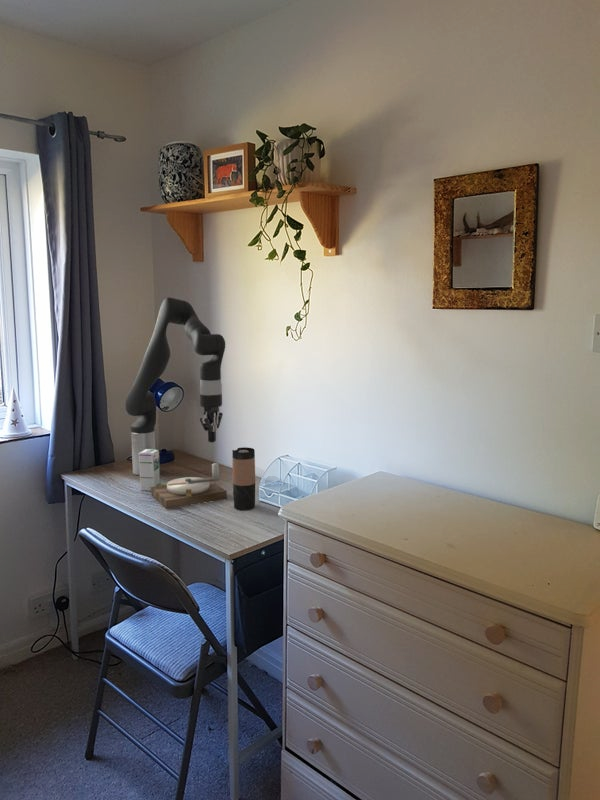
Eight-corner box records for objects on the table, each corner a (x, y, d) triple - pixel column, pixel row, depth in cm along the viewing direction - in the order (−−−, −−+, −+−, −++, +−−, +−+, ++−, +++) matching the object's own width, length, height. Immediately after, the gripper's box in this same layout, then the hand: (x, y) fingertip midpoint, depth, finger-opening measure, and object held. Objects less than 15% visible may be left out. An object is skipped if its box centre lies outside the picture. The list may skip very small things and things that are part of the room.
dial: (214, 479, 240) (213, 458, 238) (224, 490, 226) (223, 468, 224) (163, 484, 233) (163, 463, 232) (170, 496, 219) (169, 474, 218)
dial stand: (151, 494, 232) (150, 480, 231) (208, 486, 242) (208, 472, 241) (166, 509, 216) (165, 493, 215) (226, 499, 227) (226, 484, 226)
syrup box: (154, 491, 236) (153, 453, 234) (139, 490, 238) (138, 452, 235) (161, 486, 242) (159, 449, 240) (146, 485, 243) (144, 448, 241)
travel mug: (256, 510, 215) (255, 452, 212) (233, 511, 214) (232, 453, 211) (254, 502, 222) (253, 446, 219) (232, 504, 221) (231, 447, 218)
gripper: (211, 395, 213) (213, 446, 215) (229, 390, 225) (230, 438, 228) (191, 394, 215) (193, 445, 218) (209, 389, 227) (211, 437, 230)
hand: (212, 441), depth 223 cm, fingers closed
